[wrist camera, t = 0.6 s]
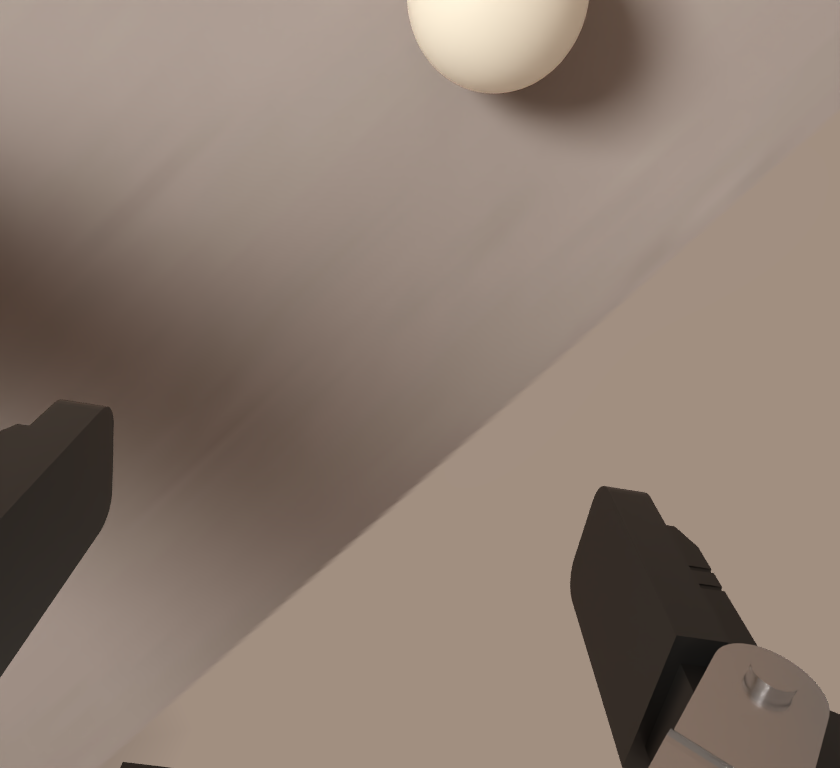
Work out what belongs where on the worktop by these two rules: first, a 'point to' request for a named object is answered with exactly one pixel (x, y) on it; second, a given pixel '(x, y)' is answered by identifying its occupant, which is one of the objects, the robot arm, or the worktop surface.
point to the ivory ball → (496, 39)
